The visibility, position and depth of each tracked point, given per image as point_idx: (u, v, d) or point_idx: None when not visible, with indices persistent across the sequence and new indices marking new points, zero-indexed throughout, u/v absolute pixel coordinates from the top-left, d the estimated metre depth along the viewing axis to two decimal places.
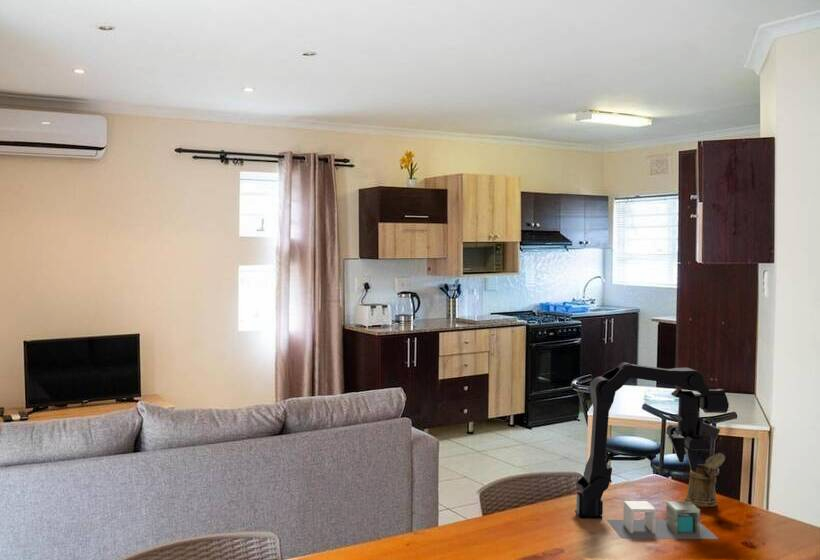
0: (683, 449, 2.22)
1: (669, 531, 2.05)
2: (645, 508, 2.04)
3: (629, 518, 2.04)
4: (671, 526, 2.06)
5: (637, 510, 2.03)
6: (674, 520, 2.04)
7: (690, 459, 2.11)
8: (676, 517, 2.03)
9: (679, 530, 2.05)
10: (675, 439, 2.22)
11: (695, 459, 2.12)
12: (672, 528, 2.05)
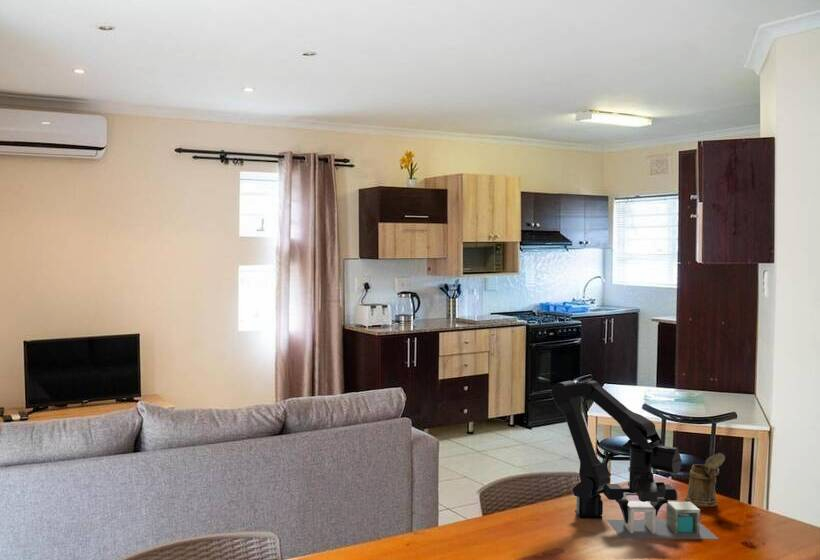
0: None
1: (669, 531, 2.05)
2: (645, 508, 2.04)
3: (629, 518, 2.04)
4: (671, 526, 2.06)
5: (637, 510, 2.03)
6: (674, 520, 2.04)
7: None
8: (676, 517, 2.03)
9: (679, 530, 2.05)
10: None
11: (622, 509, 2.06)
12: (672, 528, 2.05)
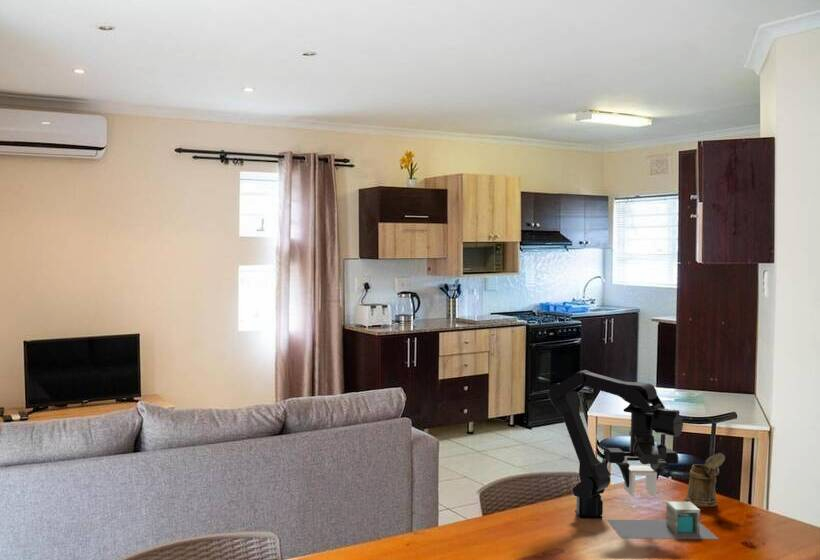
0: None
1: (669, 531, 2.05)
2: (646, 471, 2.03)
3: (630, 482, 2.04)
4: (671, 526, 2.06)
5: (638, 473, 2.03)
6: (674, 520, 2.04)
7: (621, 472, 2.07)
8: (676, 517, 2.03)
9: (679, 530, 2.05)
10: None
11: (623, 473, 2.06)
12: (672, 528, 2.05)
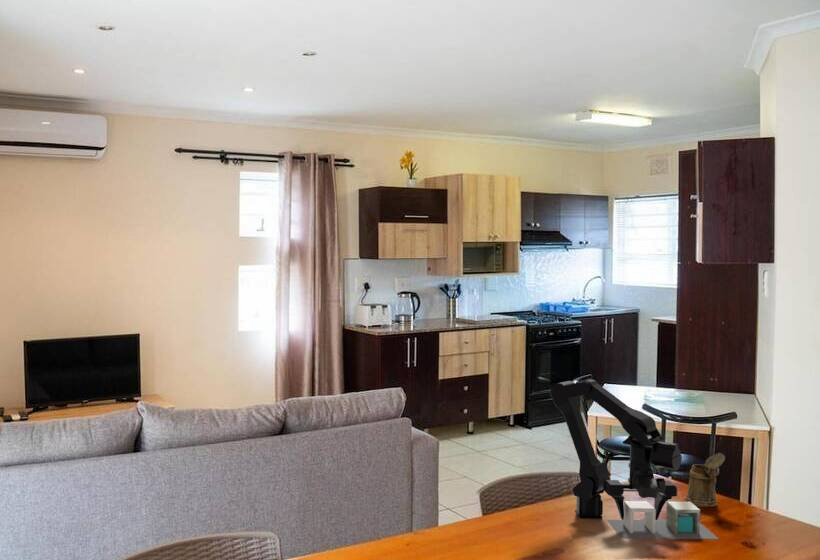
0: (657, 506, 2.06)
1: (669, 531, 2.05)
2: (645, 508, 2.04)
3: (629, 518, 2.04)
4: (671, 526, 2.06)
5: (637, 510, 2.03)
6: (674, 520, 2.04)
7: (616, 504, 2.08)
8: (676, 517, 2.03)
9: (679, 530, 2.05)
10: None
11: (618, 505, 2.06)
12: (672, 528, 2.05)
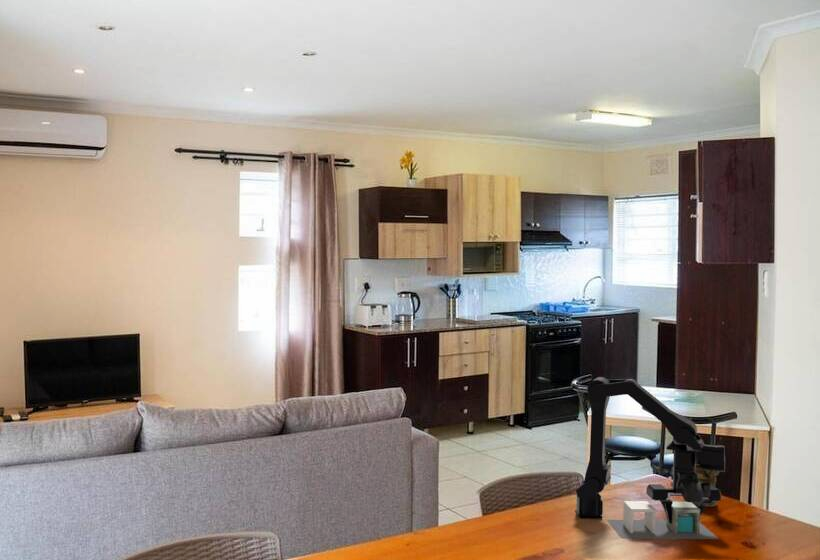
0: None
1: (669, 531, 2.05)
2: (645, 508, 2.04)
3: (629, 518, 2.04)
4: (671, 526, 2.06)
5: (637, 510, 2.03)
6: (674, 520, 2.04)
7: (664, 508, 2.08)
8: (676, 517, 2.03)
9: (679, 530, 2.05)
10: None
11: (666, 510, 2.07)
12: (672, 528, 2.05)
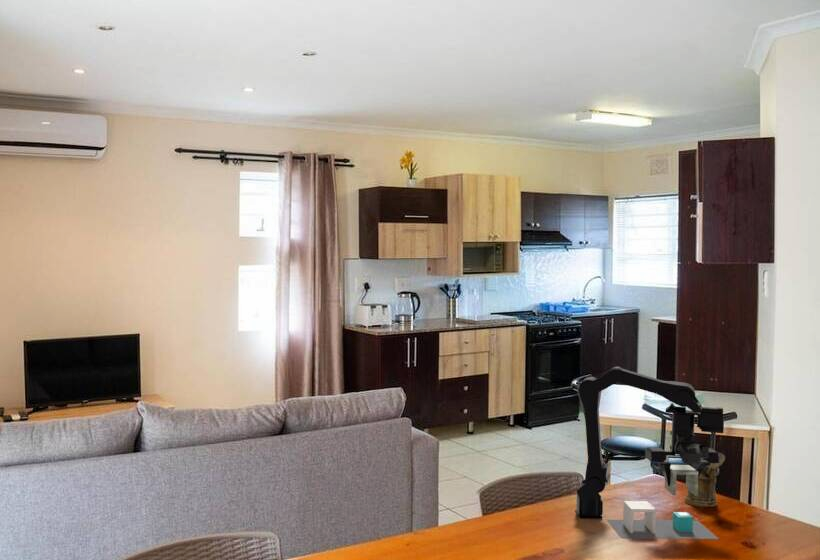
0: None
1: (669, 531, 2.05)
2: (645, 508, 2.04)
3: (629, 518, 2.04)
4: (669, 488, 2.08)
5: (637, 510, 2.03)
6: (672, 482, 2.06)
7: (662, 471, 2.09)
8: (674, 479, 2.05)
9: (679, 530, 2.05)
10: None
11: (664, 472, 2.08)
12: (670, 490, 2.07)
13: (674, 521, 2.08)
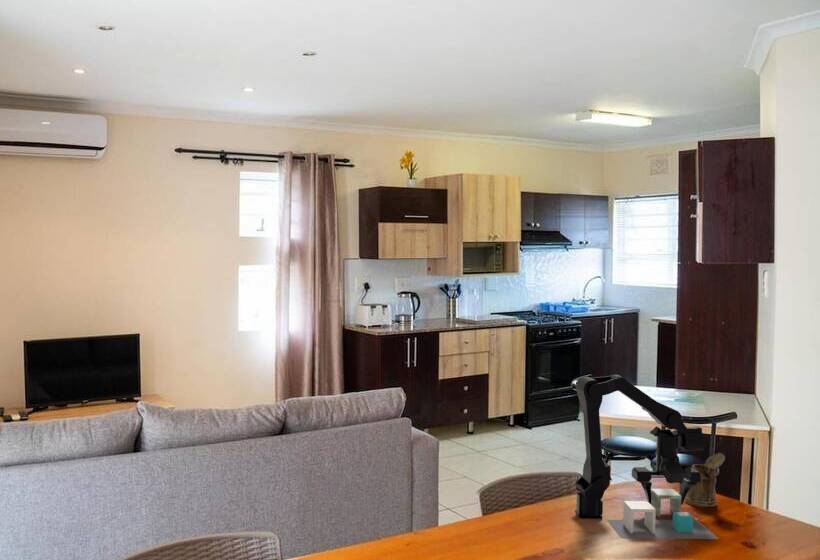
0: (682, 492, 2.19)
1: (669, 531, 2.05)
2: (645, 508, 2.04)
3: (629, 518, 2.04)
4: None
5: (637, 510, 2.03)
6: (657, 506, 2.17)
7: (644, 489, 2.21)
8: (659, 503, 2.16)
9: (679, 530, 2.05)
10: None
11: (646, 491, 2.20)
12: None
13: (674, 521, 2.08)
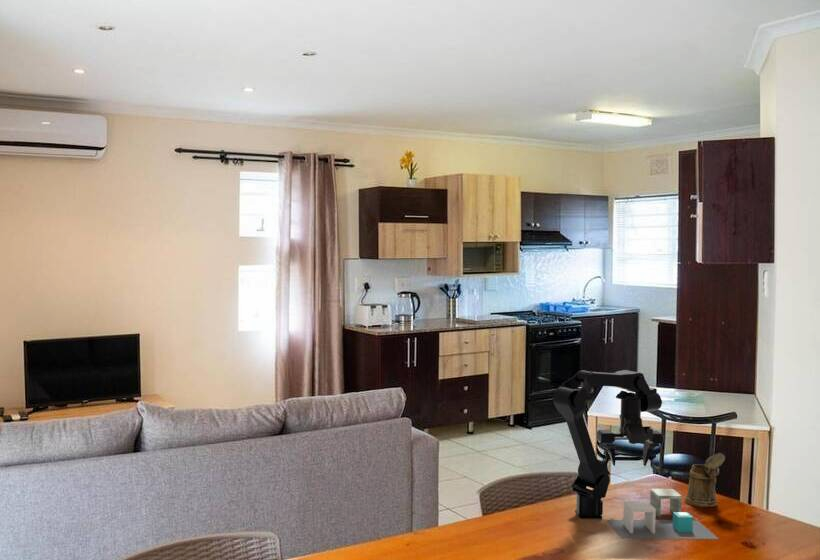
0: (646, 453, 2.25)
1: (669, 531, 2.05)
2: (645, 508, 2.04)
3: (629, 518, 2.04)
4: None
5: (637, 510, 2.03)
6: (657, 506, 2.17)
7: (608, 451, 2.26)
8: (659, 503, 2.16)
9: (679, 530, 2.05)
10: None
11: (610, 453, 2.25)
12: None
13: (674, 521, 2.08)
